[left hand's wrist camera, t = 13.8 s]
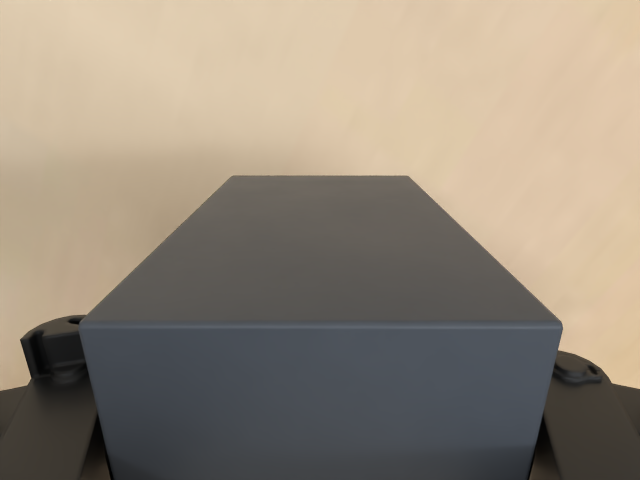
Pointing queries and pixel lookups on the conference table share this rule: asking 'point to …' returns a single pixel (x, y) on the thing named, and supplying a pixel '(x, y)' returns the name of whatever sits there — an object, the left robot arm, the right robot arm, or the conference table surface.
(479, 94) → the conference table surface
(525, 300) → the bar
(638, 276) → the conference table surface
